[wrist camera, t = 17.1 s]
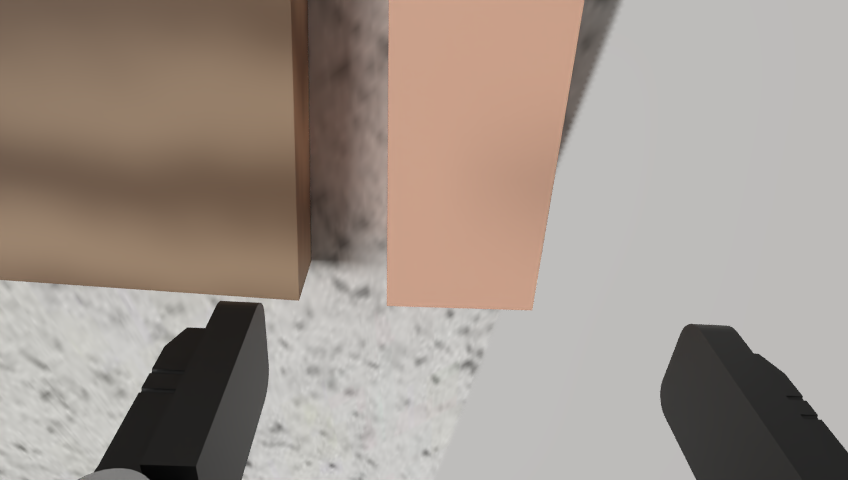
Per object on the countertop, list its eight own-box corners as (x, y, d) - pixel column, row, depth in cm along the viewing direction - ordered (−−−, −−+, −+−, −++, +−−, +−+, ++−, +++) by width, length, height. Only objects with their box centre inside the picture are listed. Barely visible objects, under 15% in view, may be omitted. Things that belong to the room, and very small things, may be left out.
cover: (550, -23, 20) (584, -2, 16) (514, 242, 26) (531, 310, 22) (396, -29, 20) (388, -10, 16) (393, 238, 26) (386, 305, 22)
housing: (311, 260, 26) (271, 389, 19) (-5, 237, 26) (-163, 362, 19) (301, -443, 15) (198, -735, 8) (-262, -517, 14) (-894, -902, 7)
